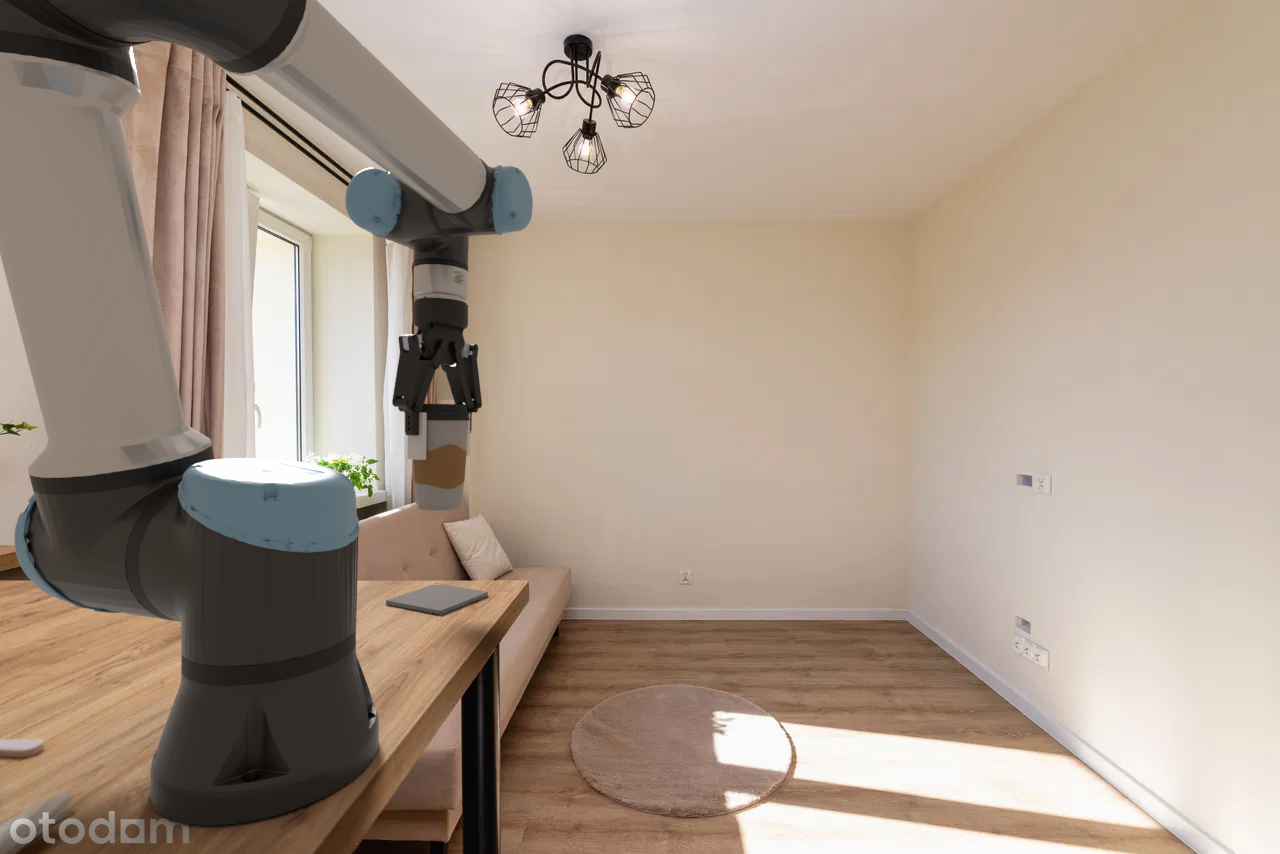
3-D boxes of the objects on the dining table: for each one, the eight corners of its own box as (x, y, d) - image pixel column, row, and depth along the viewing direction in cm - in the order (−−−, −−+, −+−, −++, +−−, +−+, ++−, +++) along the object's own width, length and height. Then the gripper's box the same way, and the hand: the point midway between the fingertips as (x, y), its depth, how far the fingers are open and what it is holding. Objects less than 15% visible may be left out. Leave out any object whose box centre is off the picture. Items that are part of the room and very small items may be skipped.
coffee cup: (455, 501, 96) (456, 404, 96) (478, 508, 90) (479, 404, 90) (400, 506, 91) (401, 403, 91) (421, 513, 85) (422, 403, 84)
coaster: (440, 615, 84) (440, 610, 84) (385, 604, 88) (385, 600, 88) (487, 595, 93) (487, 591, 93) (436, 587, 97) (436, 583, 97)
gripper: (405, 284, 79) (403, 463, 79) (507, 310, 98) (505, 454, 98) (362, 288, 82) (361, 460, 82) (469, 312, 101) (468, 452, 102)
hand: (439, 457), depth 90 cm, fingers closed on coffee cup, 8 cm apart
